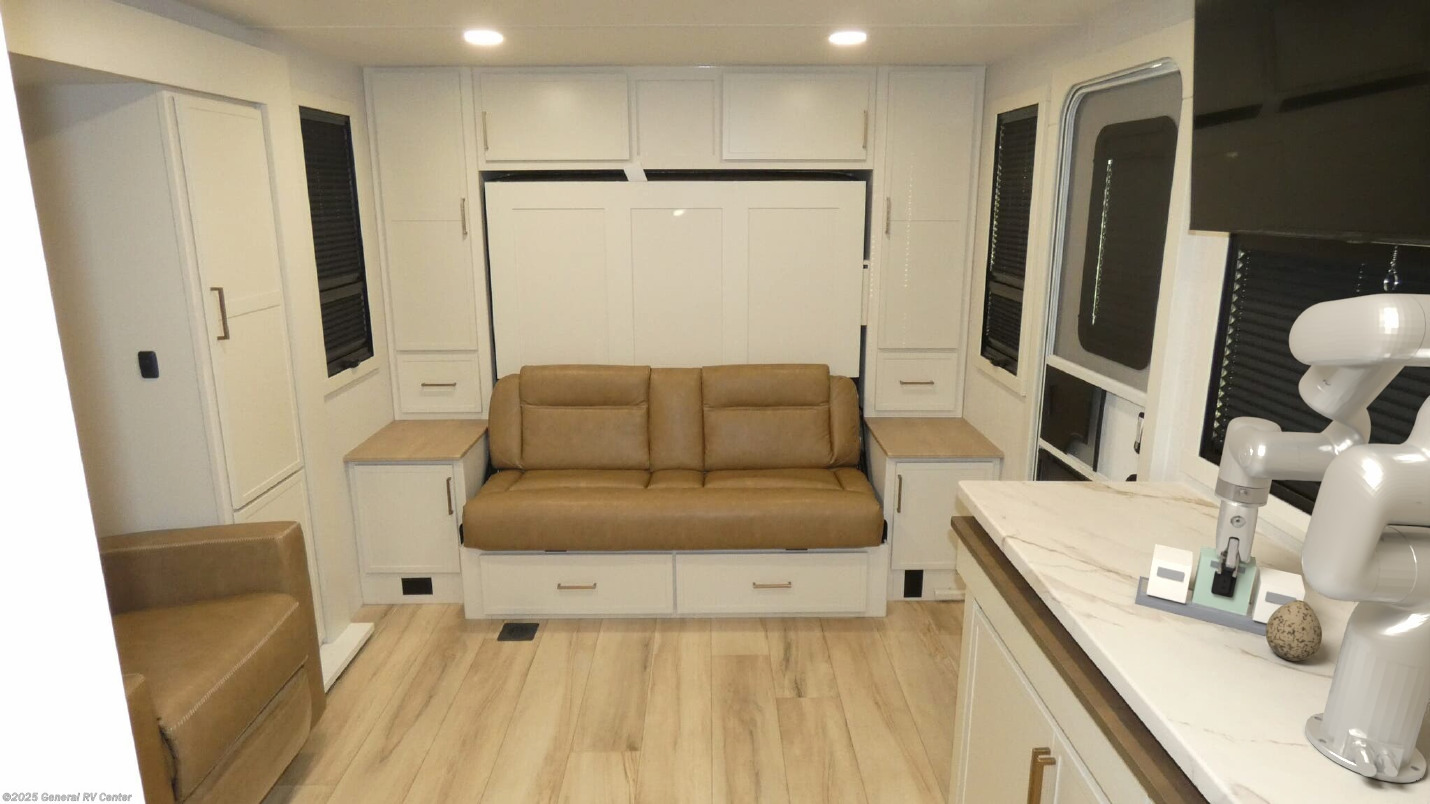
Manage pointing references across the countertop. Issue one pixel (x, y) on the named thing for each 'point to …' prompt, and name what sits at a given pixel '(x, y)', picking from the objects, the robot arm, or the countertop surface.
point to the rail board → (1175, 596)
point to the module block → (1205, 580)
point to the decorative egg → (1294, 631)
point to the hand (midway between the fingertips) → (1221, 587)
